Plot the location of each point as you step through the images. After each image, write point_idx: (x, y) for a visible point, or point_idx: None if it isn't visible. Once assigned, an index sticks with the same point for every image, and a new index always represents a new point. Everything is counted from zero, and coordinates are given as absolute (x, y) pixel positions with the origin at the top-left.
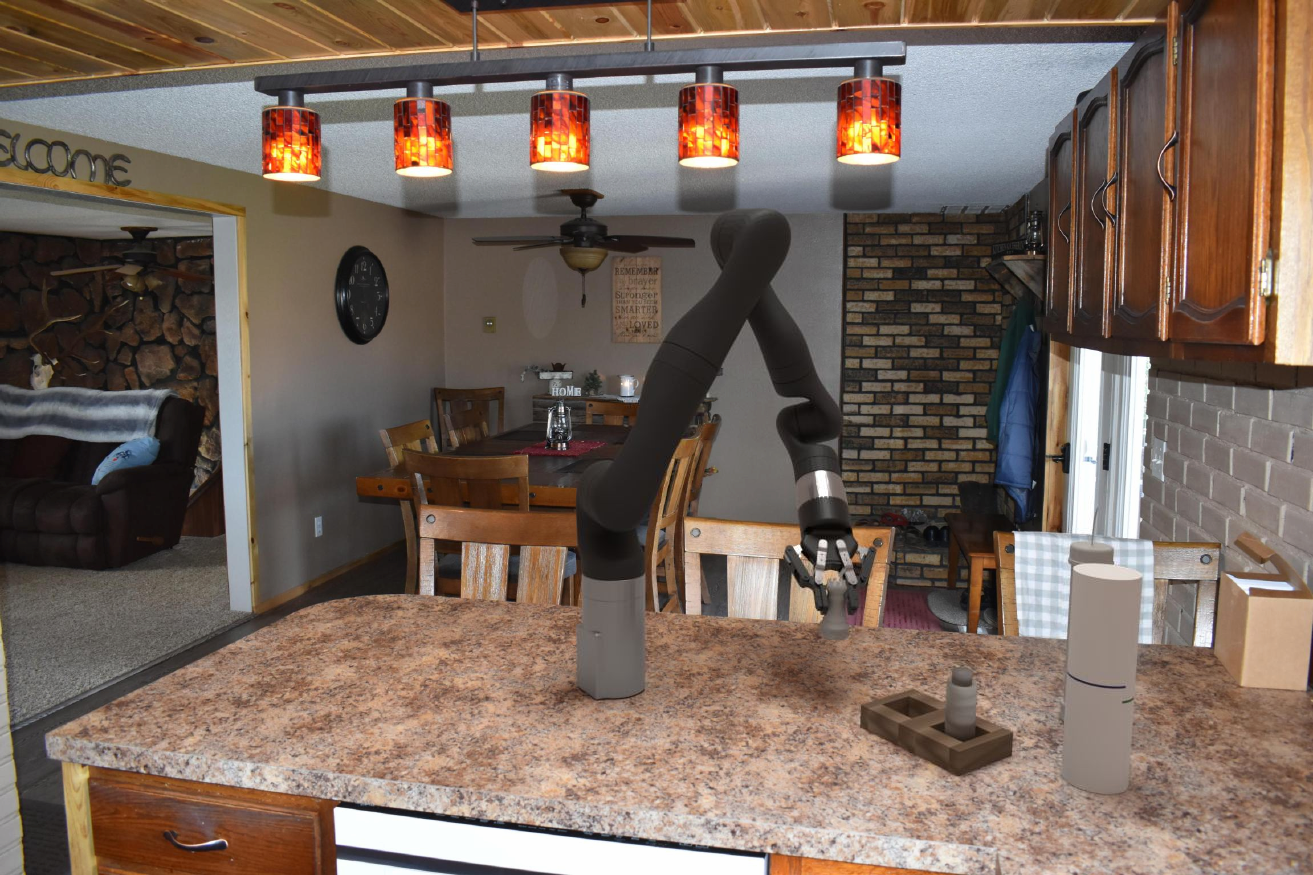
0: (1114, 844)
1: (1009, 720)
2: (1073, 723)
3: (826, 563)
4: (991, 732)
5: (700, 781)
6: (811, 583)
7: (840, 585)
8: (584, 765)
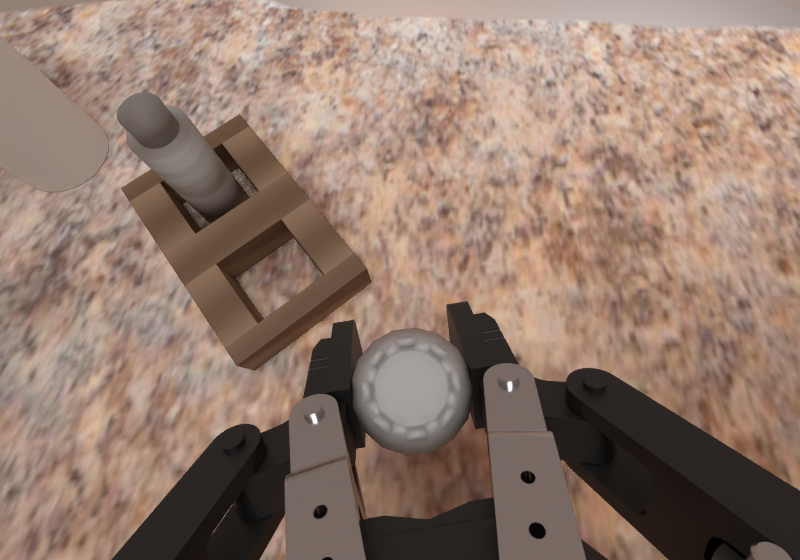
0: (135, 26)
1: (84, 341)
2: (28, 66)
3: (479, 504)
4: (159, 182)
5: (613, 87)
6: (545, 381)
7: (392, 346)
8: (793, 106)
